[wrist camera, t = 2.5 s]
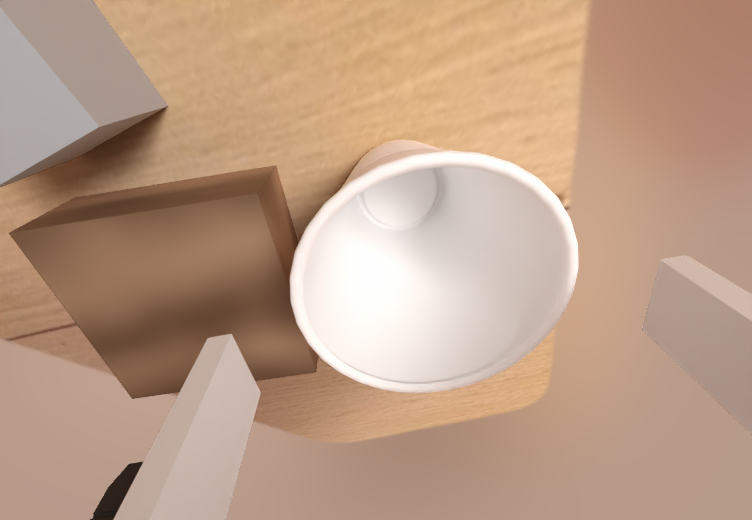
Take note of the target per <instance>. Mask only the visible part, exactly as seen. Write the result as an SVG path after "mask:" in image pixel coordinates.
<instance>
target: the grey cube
mask: <svg viewBox="0 0 752 520" xmlns="http://www.w3.org/2000/svg"><path fill="white" fill-rule="evenodd" d="M167 106H168V105H167V103H166V102H165V101H164V99H163V98H162V96H161V95H160V94H159V92H158V91H157V89H156V88H155V87H154V85H153V84H152V82H151V81H150V80H149V78H148V77H147V75H146V74H145V73H144V71H143V70H142V68H141V67H140V66H139V64H138V63H137V61H136V60H135V59H134V57H133V56H132V54H131V53H130V52H129V50H128V49H127V47H126V46H125V45H124V43H123V42H122V40H121V39H120V38H119V36H118V35H117V33H116V32H115V31H114V29H113V28H112V26H111V25H110V24H109V22H108V21H107V19H106V18H105V17H104V15H103V14H102V12H101V11H100V10H99V8H98V7H97V5H96V4H95V3H94V1H93V0H0V187H2V186H5V185H7V184H10V183H13V182H15V181H18V180H20V179H23V178H25V177H28V176H30V175H33V174H36V173H38V172H41V171H43V170H46V169H48V168H51V167H53V166H56V165H58V164H61V163H64V162H66V161H69V160H71V159H74V158H76V157H79V156H81V155H83V154H85V153H86V152H88V151H90V150H92V149H93V148H95V147H97V146H99V145H100V144H102V143H104V142H106V141H107V140H109V139H111V138H113V137H114V136H116V135H118V134H120V133H121V132H123V131H125V130H127V129H128V128H130V127H132V126H134V125H135V124H137V123H139V122H141V121H142V120H144V119H146V118H148V117H149V116H151V115H153V114H155V113H156V112H158V111H160V110H162V109H163V108H165V107H167Z"/></svg>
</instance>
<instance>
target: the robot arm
mask: <svg viewBox="0 0 752 520" xmlns="http://www.w3.org/2000/svg"><path fill="white" fill-rule="evenodd" d="M642 330H643V331H644V332H645V333H646V334H647V335H648V336H649V337H650V338H651V339H652V340H653V341H654V342H655V343H656V344H657V345H658V346H659V347H660V348H661V349H662V350H663V351H665V352H666V353H667V354H668V355H669V356H670V357H671V358H672V359H673V360H674V361H675V362H676V363H677V364H678V365H679V366H680V367H681V368H682V369H683V370H684V371H685V372H686V373H688V374H689V375H690V376H691V377H692V378H693V379H694V380H695V381H696V382H697V383H698V384H699V385H700V386H701V387H702V388H703V389H704V390H705V391H706V392H707V393H708V394H710V395H711V396H712V397H713V398H714V399H715V400H716V401H717V402H718V403H719V404H720V405H721V406H722V407H723V408H724V409H725V410H726V411H727V412H729V414H730V415H732V416H733V417H734V418H735V419H736V420H737V421H738V422H739V423H740V424H741V425H742V426H743V427H744V428H745V429H746V430H747V431H748V432H749V433H750V434H751V435H752V294H750V293H748V292H747V291H745V290H743V289H742V288H740V287H738V286H737V285H735V284H733V283H732V282H730V281H728V280H727V279H725V278H723V277H722V276H720V275H718V274H717V273H715V272H713V271H712V270H710V269H708V268H707V267H705V266H703V265H702V264H700V263H699V262H696V261H695V260H694V259H692V258H690V257H688V256H687V255H685V256H679V257H673V258H667V259H662V260H660V262H659V266H658V269H657V273H656V277H655V282H654V285H653V289H652V293H651V297H650V301H649V305H648V309H647V313H646V316H645V321H644V324H643V328H642ZM260 394H261V392H260V390H259V388H258V386H257V384H256V382H255V380H254V378H253V376H252V374H251V372H250V370H249V368H248V366H247V364H246V362H245V360H244V358H243V356H242V354H241V352H240V350H239V348H238V346H237V344H236V342H235V340H234V338H233V336H232V334H227V335H221V336H215V337H210V338H207V340H206V342H205V344H204V346H203V348H202V350H201V352H200V354H199V356H198V358H197V360H196V362H195V364H194V365H193V367H192V369H191V371H190V373H189V375H188V377H187V379H186V381H185V383H184V385H183V387H182V389H181V390H180V392H179V394H178V396H177V398H176V400H175V402H174V404H173V406H172V408H171V410H170V412H169V414H168V416H167V417H166V419H165V421H164V423H163V425H162V427H161V429H160V431H159V433H158V435H157V437H156V439H155V441H154V442H153V444H152V446H151V448H150V450H149V452H148V454H147V456H146V458H145V460H144V462H138V463H132V464H129V465H128V466H127V467H126V468H125V469H124V470H123V471H122V473H121V474H120V475H119V476H118V477H117V478H116V479H115V480H114V482H113V483H112V484H111V485H110V486H109V487H108V489H107V491H106V492H105V494H104V496H103V498H102V499H101V501H100V503H99V505H98V507H97V508H96V510H95V512H94V513H93V514H94V517H93V519H90V520H226V517H227V513H228V509H229V506H230V502H231V499H232V495H233V492H234V488H235V484H236V481H237V477H238V473H239V470H240V466H241V463H242V459H243V456H244V452H245V448H246V445H247V441H248V438H249V434H250V430H251V427H252V423H253V420H254V416H255V412H256V409H257V405H258V402H259V398H260Z"/></svg>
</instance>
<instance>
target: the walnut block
mask: <svg viewBox="0 0 752 520" xmlns="http://www.w3.org/2000/svg"><path fill="white" fill-rule="evenodd" d="M9 234H10V235H11V237H12V238H13V239H14V241H15V242H16V243H17V245H18V246H19V247H20V249H21V250H22V251H23V253H24V254H25V255H26V257H27V258H28V259H29V261H30V262H31V264H32V265H33V266H34V268H35V269H36V270H37V272H38V273H39V274H40V276H41V277H42V278H43V280H44V281H45V282H46V284H47V285H48V286H49V288H50V289H51V290H52V292H53V293H54V294H55V296H56V297H57V298H58V300H59V301H60V302H61V304H62V305H63V306H64V308H65V309H66V310H67V312H68V313H69V314H70V316H71V317H72V318H73V320H74V321H75V323H76V324H77V325H78V327H79V328H80V329H81V331H82V332H83V333H84V335H85V336H86V337H87V339H88V340H89V341H90V343H91V344H92V345H93V347H94V348H95V349H96V351H97V352H98V353H99V355H100V356H101V357H102V359H103V360H104V361H105V363H106V364H107V365H108V367H109V368H110V369H111V371H112V372H113V373H114V375H115V376H116V377H117V379H118V380H119V382H120V383H121V384H122V386H123V387H124V388H125V389H126V391H127V392H128V394H129V395H130V396H131V397H132V399H134V398H140V397H148V396H155V395H161V394H169V393H175V392H180V390H181V389H182V387H183V385H184V383H185V381H186V379H187V377H188V375H189V373H190V371H191V369H192V367H193V365H194V364H195V362H196V360H197V358H198V356H199V354H200V352H201V350H202V348H203V346H204V344H205V342H206V340H207V338H210V337H215V336H221V335H227V334H232V336H233V338H234V340H235V342H236V344H237V346H238V348H239V350H240V352H241V354H242V356H243V358H244V360H245V362H246V364H247V366H248V368H249V370H250V372H251V374H252V376H253V378H254V380H255V381H258V380H265V379H272V378H279V377H286V376H293V375H300V374H307V373H313V372H316V369H317V360H318V354H317V353H316V352H315V351H314V350H313V349H312V347H311V346H310V345H309V344H308V343H307V341H306V339H305V337H304V336H303V334H302V332H301V330H300V329H299V327H298V325H297V323H296V319H295V316H294V312H293V309H292V305H291V302H290V272H291V268H292V263H293V258H294V253H295V250H296V248H297V246H298V240H297V237H296V233H295V230H294V226H293V223H292V219H291V216H290V212H289V209H288V206H287V202H286V199H285V195H284V192H283V188H282V185H281V181H280V178H279V174H278V171H277V167H276V166H270V167H263V168H257V169H251V170H245V171H238V172H232V173H226V174H220V175H214V176H207V177H201V178H195V179H189V180H182V181H176V182H170V183H164V184H157V185H151V186H145V187H139V188H132V189H126V190H120V191H114V192H107V193H101V194H95V195H89V196H82V197H76V198H73V199H71V200H70V201H68V202H66V203H64V204H62V205H60V206H58V207H56V208H55V209H53V210H51V211H49V212H47V213H45V214H43V215H42V216H40V217H38V218H36V219H34V220H32V221H30V222H28V223H27V224H25V225H23V226H21V227H19V228H17V229H15V230H14V231H12V232H10V233H9Z"/></svg>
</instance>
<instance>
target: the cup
mask: <svg viewBox="0 0 752 520" xmlns="http://www.w3.org/2000/svg"><path fill="white" fill-rule="evenodd" d="M577 272H578V243H577V239H576V236H575V232H574V229H573V225H572V221H571V219H570V217H569V215H568V214H567V212H566V210H565V209H564V207H563V205H562V204H561V202H560V200H559V199H558V197H557V196H556V195H555V194H554V193H553V192H552V191H551V190H550V189H549V188H548V187H547V186H546V185H545V184H544V183H543V182H542V181H541V180H539V179H538V178H537V177H536V176H534V175H532V174H531V173H529V172H527V171H526V170H524V169H522V168H520V167H519V166H517V165H515V164H514V163H512V162H509V161H506V160H502V159H499V158H496V157H492V156H489V155H486V154H483V153H475V152H463V151H451V150H443V149H440V148H437V147H433V146H430V145H427V144H424V143H421V142H417V141H414V140H405V139H400V140H391V141H388V142H385V143H382V144H380V145H378V146H376V147H374V148H373V149H371V150H370V151H369V152H368V153H366V154H365V155H364V156H363V157H362V158H361V160H360V161H359V162H358V163H357V165H356V166H355V168H354V169H353V171H352V172H351V174H350V175H349V177H348V178H347V180H346V182H345V183H344V184H343V186H342V187H341V189H340V190H339V191H338V192H337V193H336V194H334V195H333V196H332V197H331V198H330V199H329V200H327V201H326V202H325V203H324V204H323V206H322V207H321V208H320V210H319V211H318V212H317V214H316V215H315V216H314V217H313V219H312V220H311V221H310V223H309V224H308V225H307V227H306V229H305V231H304V233H303V235H302V237H301V239H300V242H299V244H298V246H297V248H296V250H295V253H294V258H293V263H292V268H291V272H290V302H291V305H292V309H293V312H294V316H295V319H296V323H297V325H298V327H299V329H300V330H301V332H302V334H303V336H304V337H305V339H306V341H307V343H308V344H309V345H310V346H311V347H312V349H313V350H314V351H315V352H316V353H317V354H318V355H319V356H320V358H321V359H322V360H324V361H325V362H326V363H328V364H329V365H330V366H332V367H333V368H334V369H335V370H337V371H338V372H339V373H341V374H343V375H345V376H347V377H349V378H351V379H353V380H355V381H357V382H359V383H362V384H366V385H369V386H372V387H375V388H378V389H382V390H389V391H395V392H401V393H431V392H440V391H448V390H453V389H457V388H461V387H465V386H469V385H472V384H475V383H477V382H480V381H482V380H485V379H487V378H490V377H493V376H495V375H496V374H498V373H500V372H502V371H504V370H505V369H507V368H509V367H511V366H513V365H514V364H516V363H517V362H518V361H520V360H521V359H522V358H524V357H525V356H526V355H528V354H529V353H530V352H532V351H533V350H534V349H535V348H536V347H537V346H538V345H539V344H540V343H541V342H542V341H543V340H544V339H545V338H546V337H547V336H548V335H549V334H550V332H551V331H552V329H553V328H554V327H555V325H556V324H557V322H558V321H559V319H560V318H561V316H562V315H563V314H564V311H565V309H566V307H567V305H568V302H569V300H570V298H571V296H572V293H573V290H574V286H575V282H576V277H577Z"/></svg>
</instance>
